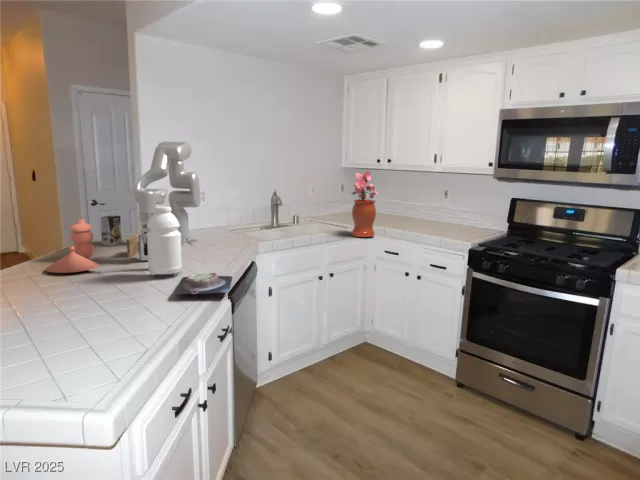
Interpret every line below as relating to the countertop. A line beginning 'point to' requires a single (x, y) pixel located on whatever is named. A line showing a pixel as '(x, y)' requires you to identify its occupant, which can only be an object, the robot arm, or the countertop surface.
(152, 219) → the bottle
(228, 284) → the quiche
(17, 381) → the countertop surface
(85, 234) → the ceramic vessels
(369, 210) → the potted flower
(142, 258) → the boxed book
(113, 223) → the coffee box
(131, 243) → the oak shelf
